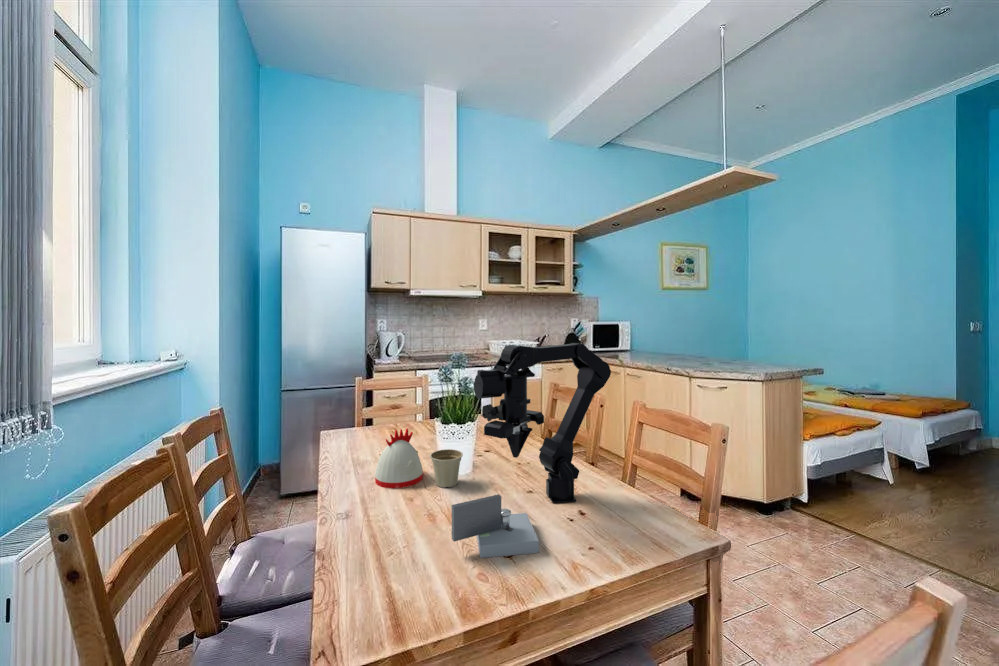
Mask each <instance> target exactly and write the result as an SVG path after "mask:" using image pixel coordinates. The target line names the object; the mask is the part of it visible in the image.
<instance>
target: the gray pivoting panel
mask: <svg viewBox="0 0 999 666" xmlns="http://www.w3.org/2000/svg"><path fill="white" fill-rule="evenodd" d="M511 514H512V510H510V509H509V508H502V495H500V494H494V495H490V496H489V495H488V496H486V497H481V498H475V499H472V500H468V501H464V502H459V503H454V504H451V540H452V541H453V542H454V543H455V542H458V541H462V540H464V539H465V540H466V539H469V538H472V537H477V535H480V534H484V533H488V532H492V531H495V530H499V529H501V528H502V529H508V528H509V527H510V515H511Z"/></svg>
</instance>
